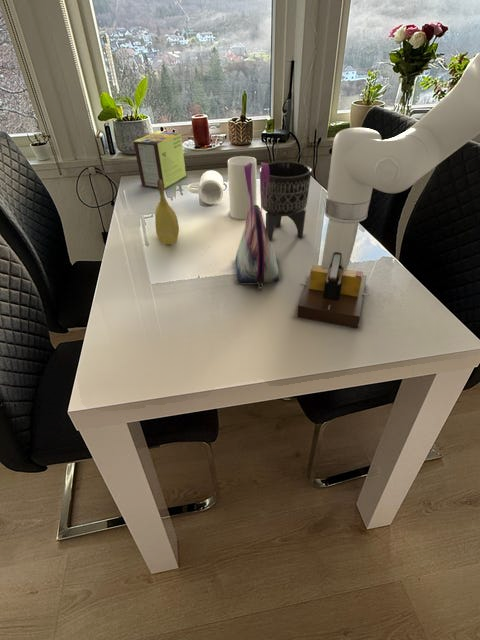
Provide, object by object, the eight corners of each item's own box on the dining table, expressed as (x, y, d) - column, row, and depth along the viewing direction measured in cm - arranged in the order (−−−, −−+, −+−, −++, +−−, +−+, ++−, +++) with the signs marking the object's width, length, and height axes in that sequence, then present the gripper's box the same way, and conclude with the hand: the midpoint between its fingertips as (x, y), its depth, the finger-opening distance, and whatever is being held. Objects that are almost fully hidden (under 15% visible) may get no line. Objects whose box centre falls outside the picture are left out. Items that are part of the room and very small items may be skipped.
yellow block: (309, 288, 78) (311, 269, 75) (311, 282, 80) (313, 263, 77) (358, 296, 76) (362, 277, 73) (359, 290, 77) (363, 270, 74)
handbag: (284, 295, 82) (290, 181, 66) (238, 298, 82) (234, 183, 66) (272, 248, 98) (274, 147, 83) (234, 250, 98) (229, 149, 82)
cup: (225, 216, 115) (222, 162, 105) (237, 206, 121) (236, 154, 111) (249, 221, 112) (248, 166, 102) (260, 211, 118) (261, 157, 107)
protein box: (186, 175, 146) (181, 132, 136) (164, 189, 135) (157, 143, 125) (164, 173, 149) (157, 130, 140) (140, 185, 139) (132, 140, 129)
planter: (309, 226, 108) (315, 163, 97) (299, 247, 99) (305, 179, 87) (266, 221, 112) (268, 159, 100) (253, 241, 102) (252, 174, 91)
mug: (224, 193, 130) (222, 169, 125) (224, 204, 123) (222, 179, 118) (189, 194, 130) (187, 171, 125) (187, 205, 123) (184, 181, 118)
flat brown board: (306, 277, 87) (307, 266, 85) (369, 287, 83) (372, 275, 81) (291, 316, 76) (292, 303, 74) (363, 329, 72) (366, 317, 70)
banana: (154, 225, 112) (141, 155, 99) (174, 222, 113) (163, 153, 100) (162, 262, 95) (147, 183, 82) (184, 259, 96) (173, 180, 83)
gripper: (332, 187, 74) (322, 266, 85) (317, 224, 61) (307, 310, 73) (372, 191, 72) (356, 271, 83) (364, 229, 59) (346, 317, 71)
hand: (333, 288), depth 78 cm, fingers open, 6 cm apart
